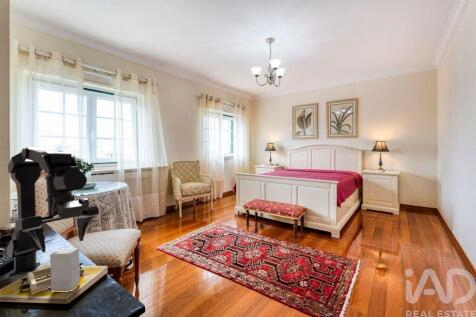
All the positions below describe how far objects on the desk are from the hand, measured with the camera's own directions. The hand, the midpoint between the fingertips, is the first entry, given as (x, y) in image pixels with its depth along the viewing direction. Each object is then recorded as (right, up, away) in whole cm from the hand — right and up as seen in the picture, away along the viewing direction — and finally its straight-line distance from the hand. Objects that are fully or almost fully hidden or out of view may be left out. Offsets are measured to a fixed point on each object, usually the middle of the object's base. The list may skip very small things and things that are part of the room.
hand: (63, 246), depth 64 cm
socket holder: (-10, -15, +8) cm, 19 cm away
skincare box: (-2, -15, +3) cm, 16 cm away
